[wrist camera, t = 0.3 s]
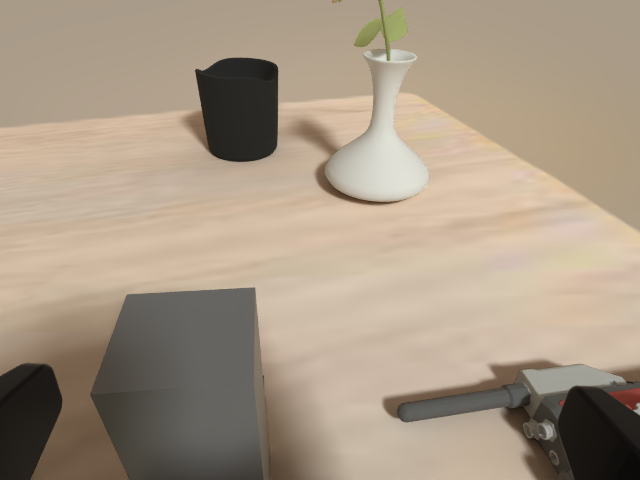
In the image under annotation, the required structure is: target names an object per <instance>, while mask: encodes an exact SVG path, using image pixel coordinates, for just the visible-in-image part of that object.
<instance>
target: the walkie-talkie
mask: <svg viewBox="0 0 640 480" xmlns="http://www.w3.org/2000/svg"><path fill="white" fill-rule="evenodd" d="M576 385H579V386H596V387H599V388H601V389H603V390H604V391H606V392H607V393H609V394H610V395H612V396H613V397H614V398H616V399H617V400H619V401H620V402H622V403H623V404H625V405H626V406H627V407H629V408H630V409H632V410H633V411H635V412H636V413H638V414H639V415H640V382H635V383H633V382H626V381H625V380H624V379H623V378H622V377H619V376H616V375H613V374H610V373H607V372H605V371H602V370H599V369H596V368H593V367H590V366H587V365H584V364H574V365H567V366H560V367H553V368H546V369H539V370H535V369H531V368H530V369H524V370H520V371H519V373H518V376H517V378H516V380H515V382H514V384H510V385H504V386H502V387H501V388H500V389H494V390H487V391H480V392H474V393H467V394H460V395H454V396H447V397H441V398H434V399H427V400H421V401H414V402H407V403H402V404H400V405H399V407H398V409H397V415H398V417H399V418H400V419H401V420H402V421H403V422H413V421H419V420H425V419H431V418H438V417H444V416H450V415H456V414H463V413H469V412H475V411H481V410H488V409H494V408H500V407H508V408H516V407H522V406H523V407H524V409H525V410H526V412H527V413H528V415H529V417H530V418H531V419H530V420H529V422H526V423H524V424H523V430H524V433H525V435H526V436H527V437H528V438H535V439H536V440H538V442H539V444H540V445H541V447H542V448H543V450H544V452H545V453H546V455H547V456H548V458H549V460H550V461H551V463H552V465H553V466H554V468H555V469H556V471H557V473H558V477H557V480H574V478H573V475H572V472H571V469H570V466H569V463H568V460H567V457H566V454H565V451H564V448H563V445H562V442H561V439H560V436H559V433H558V428H557V421H558V416H559V414H560V411H561V409H562V406H563V404H564V401H565V399H566V396H567V393H568V391H569V389H570V388H571V387H573V386H576Z"/></svg>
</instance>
